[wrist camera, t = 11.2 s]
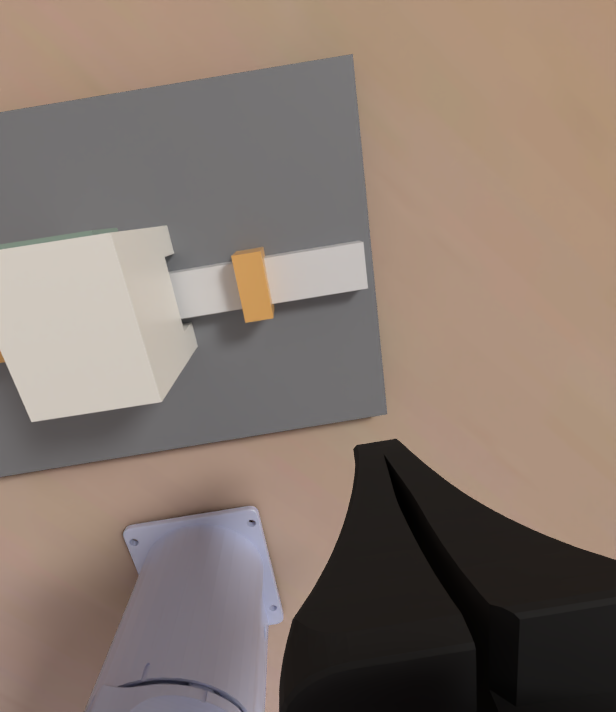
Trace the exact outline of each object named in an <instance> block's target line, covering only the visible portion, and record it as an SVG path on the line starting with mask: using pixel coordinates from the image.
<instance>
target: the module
mask: <svg viewBox="0 0 616 712" xmlns="http://www.w3.org/2000/svg"><path fill="white" fill-rule="evenodd" d="M172 254H174V251H173V247H172V243H171V239H170V235H169V231H168V227H167V225H166V226H158V227H150V228H142V229H134V230H127V231H119V232H118V229H117V228H109V229H100V230H90V231H84V232H77V233H71V234H64V235H58V236H51V237H45V238H38V239H32V240H26V241H19V242H13V243H6V244H0V351H1V353H2V356H3V358H4V360H5V363H6V365H7V367H8V369H9V372H10V374H11V376H12V379H13V381H14V383H15V386H16V388H17V390H18V392H19V395H20V397H21V399H22V402H23V404H24V406H25V408H26V411H27V413H28V415H29V418H30V420H31V422H36V421H42V420H49V419H55V418H62V417H68V416H75V415H81V414H88V413H94V412H101V411H107V410H114V409H120V408H127V407H133V406H140V405H146V404H153V403H159V402H162V401H163V399H164V398H165V396H166V395H167V393H168V392H169V390H170V389H171V387H172V385H173V384H174V382H175V381H176V379H177V378H178V376H179V375H180V373H181V371H182V370H183V368H184V367H185V365H186V364H187V362H188V361H189V359H190V358H191V356H192V354H193V353H194V351H195V350H196V348H197V347H198V345H197V341H196V337H195V333H194V329H193V325H192V322H191V323H185V324H182V321H181V317H180V314H179V310H178V306H177V302H176V298H175V295H174V291H173V287H172V283H171V279H170V275H169V272H168V268H167V264H166V260H165V257H166V256H169V255H172Z"/></svg>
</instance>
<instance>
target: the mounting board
mask: <svg viewBox="0 0 616 712" xmlns="http://www.w3.org/2000/svg"><path fill="white" fill-rule="evenodd" d="M166 225H167V227H168V231H169V235H170V239H171V243H172V247H173V251H174V254H172V255H169V256H166V257H165V260H166V264H167V268H168V272H169V275H170V279H171V283H172V287H173V291H174V295H175V298H176V302H177V306H178V310H179V314H180V317H181V321H182V324H185V323H191V322H192V325H193V329H194V333H195V337H196V341H197V345H198V347H197V348H196V350H195V351H194V353H193V354H192V356H191V358H190V359H189V361H188V362H187V364H186V365H185V367H184V368H183V370H182V371H181V373H180V375H179V376H178V378H177V379H176V381H175V382H174V384H173V385H172V387H171V389H170V390H169V392H168V393H167V395H166V396H165V398H164V399H163V401H162V402H159V403H153V404H146V405H140V406H133V407H127V408H120V409H114V410H107V411H101V412H94V413H88V414H81V415H75V416H68V417H62V418H55V419H49V420H42V421H36V422H31V420H30V418H29V415H28V413H27V411H26V408H25V406H24V404H23V402H22V399H21V397H20V395H19V392H18V390H17V388H16V386H15V383H14V381H13V379H12V376H11V374H10V372H9V369H8V367H7V365H6V363H5V360H4V358H3V356H2V353H1V351H0V477H3V476H9V475H16V474H22V473H28V472H34V471H40V470H46V469H53V468H59V467H65V466H71V465H77V464H83V463H90V462H96V461H102V460H108V459H114V458H120V457H127V456H133V455H139V454H145V453H151V452H157V451H164V450H170V449H176V448H182V447H188V446H194V445H201V444H207V443H213V442H219V441H225V440H231V439H237V438H244V437H250V436H256V435H262V434H268V433H274V432H281V431H287V430H293V429H299V428H305V427H311V426H318V425H324V424H330V423H336V422H342V421H348V420H355V419H361V418H367V417H373V416H379V415H385V414H387V407H386V397H385V387H384V376H383V366H382V355H381V345H380V334H379V324H378V314H377V303H376V293H375V282H374V272H373V261H372V251H371V241H370V230H369V220H368V209H367V199H366V188H365V178H364V168H363V157H362V147H361V136H360V126H359V115H358V105H357V95H356V84H355V74H354V63H353V54H350V55H344V56H338V57H332V58H326V59H320V60H314V61H308V62H302V63H296V64H290V65H284V66H278V67H272V68H266V69H260V70H254V71H247V72H241V73H235V74H229V75H223V76H217V77H211V78H205V79H199V80H193V81H187V82H181V83H175V84H169V85H163V86H157V87H151V88H144V89H138V90H132V91H126V92H120V93H114V94H108V95H102V96H96V97H90V98H84V99H78V100H72V101H66V102H60V103H54V104H48V105H41V106H35V107H29V108H23V109H17V110H11V111H5V112H0V244H6V243H13V242H19V241H26V240H32V239H38V238H45V237H51V236H58V235H64V234H71V233H77V232H84V231H90V230H100V229H109V228H117V229H118V232H119V231H127V230H134V229H142V228H150V227H158V226H166Z"/></svg>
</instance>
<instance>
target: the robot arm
mask: <svg viewBox="0 0 616 712" xmlns="http://www.w3.org/2000/svg"><path fill="white" fill-rule="evenodd" d="M353 450H354V457H355V476H354V483H353V490H352V494H351V499H350V503H349V507H348V511H347V514H346V518H345V521H344V524H343V527H342V530H341V533H340V535H339V538H338V540H337V543H336V545H335V547H334V550H333V552H332V554H331V556H330V559H329V561H328V563H327V565H326V566H325V568H324V570H323V572H322V574H321V576H320V577H319V579H318V581H317V583H316V585H315V587H314V588H313V590H312V592H311V593H310V595H309V596H308V598H307V599H306V601H305V602H304V604H303V605H302V607H301V608H300V609H299V611H298V612H297V614H296V615H295V617H294V618H293V621H292V624H291V628H290V632H289V635H288V639H287V644H286V648H285V652H284V657H283V663H282V669H281V677H280V688H279V712H616V560H614V559H611V558H608V557H605V556H602V555H599V554H595V553H592V552H589V551H586V550H583V549H580V548H577V547H574V546H572V545H569V544H566V543H564V542H561V541H559V540H556V539H554V538H551V537H548V536H546V535H544V534H541V533H539V532H537V531H534V530H532V529H530V528H528V527H525V526H523V525H521V524H519V523H517V522H515V521H513V520H511V519H509V518H507V517H505V516H503V515H501V514H499V513H497V512H495V511H493V510H492V509H490V508H488V507H486V506H485V505H483V504H481V503H479V502H478V501H476V500H474V499H473V498H471V497H469V496H468V495H466V494H465V493H463V492H462V491H460V490H459V489H457V488H456V487H455V486H453V485H452V484H450V483H449V482H448V481H446V480H445V479H444V478H442V477H441V476H440V475H438V474H437V473H436V472H435V471H433V470H432V469H431V468H430V467H428V466H427V465H426V464H425V463H423V462H422V461H421V460H420V459H419V458H418V457H416V456H415V455H414V454H413V453H412V452H411V451H410V450H409V449H407V448H406V447H405V446H404V445H403V444H402V443H401V442H400V441H398V440H397V439H392V440H386V441H380V442H373V443H367V444H361V445H356V447H355V448H354V449H353ZM249 520H254V521H255V522H249ZM123 537H124V540H125V542H126V545H127V547H128V550H129V552H130V555H131V557H132V560H133V562H134V564H135V567H136V569H137V572H138V574H139V576H138V579H137V581H136V584H135V586H134V589H133V591H132V594H131V596H130V599H129V601H128V604H127V606H126V609H125V611H124V614H123V616H122V619H121V621H120V624H119V626H118V629H117V631H116V634H115V636H114V639H113V641H112V644H111V646H110V649H109V651H108V653H107V656H106V658H105V661H104V663H103V666H102V668H101V671H100V673H99V676H98V678H97V681H96V683H95V686H94V688H93V691H92V693H91V696H90V698H89V701H88V703H87V706H86V708H85V711H84V712H265V697H266V673H267V648H268V625H272V624H278V623H280V622H282V620H283V609H282V605H281V601H280V597H279V593H278V589H277V585H276V581H275V577H274V573H273V569H272V564H271V560H270V556H269V552H268V548H267V544H266V540H265V536H264V532H263V528H262V524H261V520H260V516H259V511H258V509H257V508H256V507H254V506H245V507H239V508H232V509H226V510H220V511H214V512H208V513H201V514H195V515H189V516H183V517H177V518H171V519H164V520H158V521H152V522H146V523H140V524H133V525H129V526H127V527H126V528H125V530H124V533H123ZM133 539H136V540H138V541H135V540H133Z"/></svg>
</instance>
